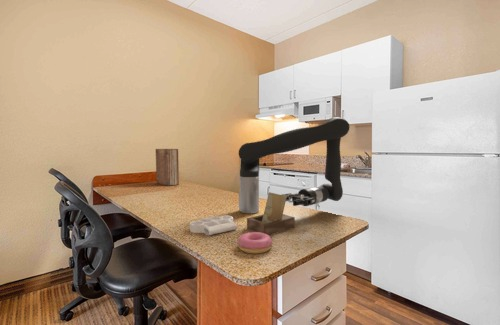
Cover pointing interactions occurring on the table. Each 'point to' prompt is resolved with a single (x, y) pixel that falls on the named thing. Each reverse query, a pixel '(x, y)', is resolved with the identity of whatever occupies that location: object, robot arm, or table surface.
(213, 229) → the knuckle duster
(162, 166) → the brown wooden block
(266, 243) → the doughnut
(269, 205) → the skincare box
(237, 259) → the table surface
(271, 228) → the walnut holder
